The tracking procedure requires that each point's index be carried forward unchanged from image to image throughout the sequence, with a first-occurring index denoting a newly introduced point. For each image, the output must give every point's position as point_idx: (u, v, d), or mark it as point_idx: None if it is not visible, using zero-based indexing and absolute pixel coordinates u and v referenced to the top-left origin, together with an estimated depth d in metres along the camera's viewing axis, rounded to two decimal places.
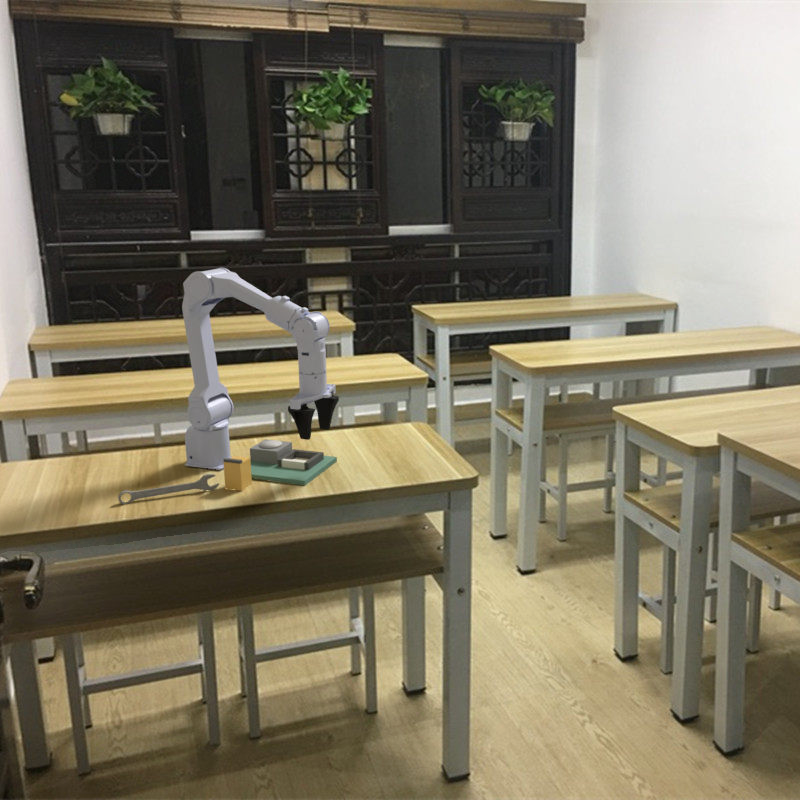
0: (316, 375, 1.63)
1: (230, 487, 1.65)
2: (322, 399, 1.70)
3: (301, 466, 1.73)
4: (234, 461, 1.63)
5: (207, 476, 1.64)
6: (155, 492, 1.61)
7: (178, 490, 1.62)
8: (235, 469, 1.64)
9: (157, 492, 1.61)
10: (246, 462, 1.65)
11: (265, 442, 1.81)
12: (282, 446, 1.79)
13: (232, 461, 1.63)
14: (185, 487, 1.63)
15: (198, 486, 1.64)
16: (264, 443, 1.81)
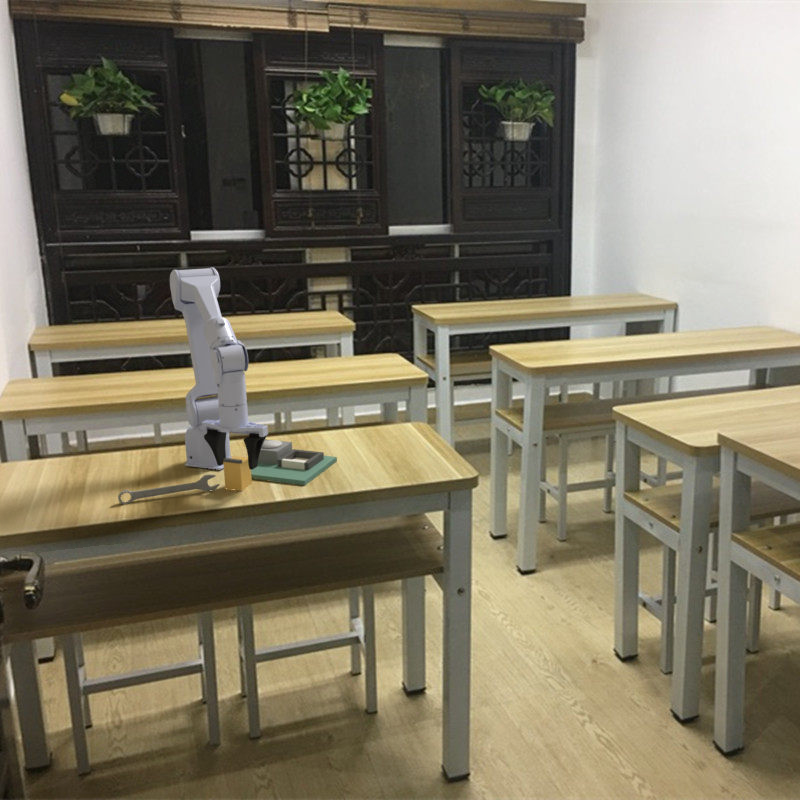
0: (219, 406, 1.61)
1: (230, 487, 1.65)
2: None
3: (301, 466, 1.73)
4: (234, 461, 1.63)
5: (207, 476, 1.64)
6: (155, 492, 1.61)
7: (178, 490, 1.62)
8: (235, 469, 1.64)
9: (157, 492, 1.61)
10: (246, 462, 1.65)
11: (265, 442, 1.81)
12: (282, 446, 1.79)
13: (232, 461, 1.63)
14: (185, 487, 1.62)
15: (198, 487, 1.64)
16: (264, 443, 1.81)
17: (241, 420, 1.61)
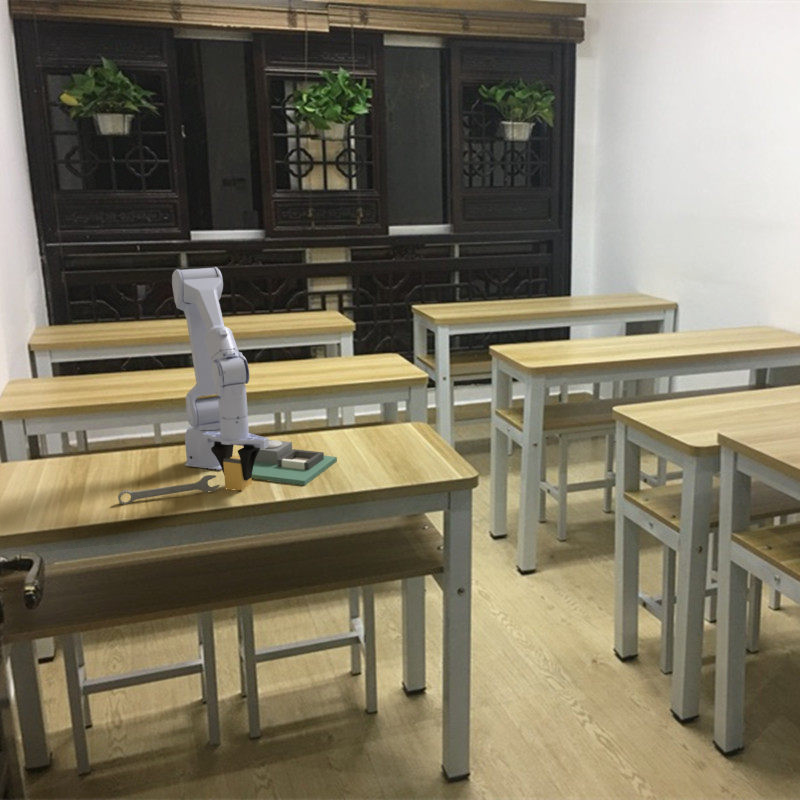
0: (220, 418, 1.61)
1: (230, 487, 1.65)
2: None
3: (301, 466, 1.73)
4: (234, 461, 1.63)
5: (207, 477, 1.63)
6: (155, 493, 1.60)
7: (178, 491, 1.62)
8: (235, 469, 1.63)
9: (157, 492, 1.61)
10: None
11: None
12: (282, 446, 1.79)
13: (232, 461, 1.63)
14: (185, 487, 1.62)
15: (198, 487, 1.63)
16: None
17: (242, 432, 1.61)
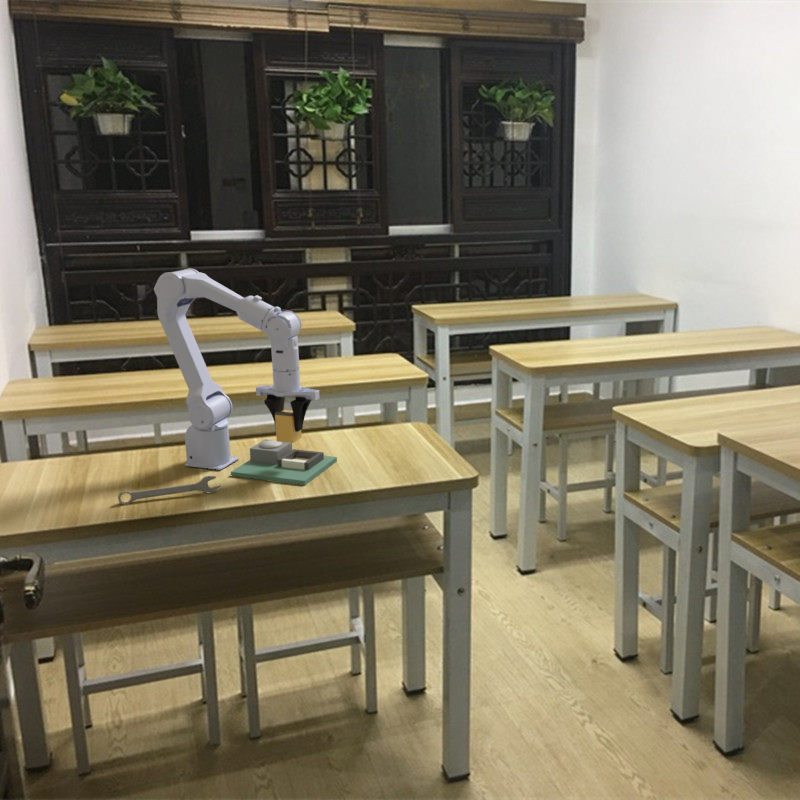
0: (273, 371, 1.69)
1: (281, 439, 1.72)
2: None
3: (301, 466, 1.73)
4: (285, 414, 1.70)
5: (207, 478, 1.63)
6: (155, 493, 1.60)
7: (178, 491, 1.62)
8: (286, 422, 1.70)
9: (157, 493, 1.60)
10: None
11: (265, 442, 1.81)
12: (282, 446, 1.79)
13: (283, 414, 1.70)
14: (185, 488, 1.62)
15: (199, 488, 1.63)
16: (264, 443, 1.81)
17: (294, 384, 1.69)
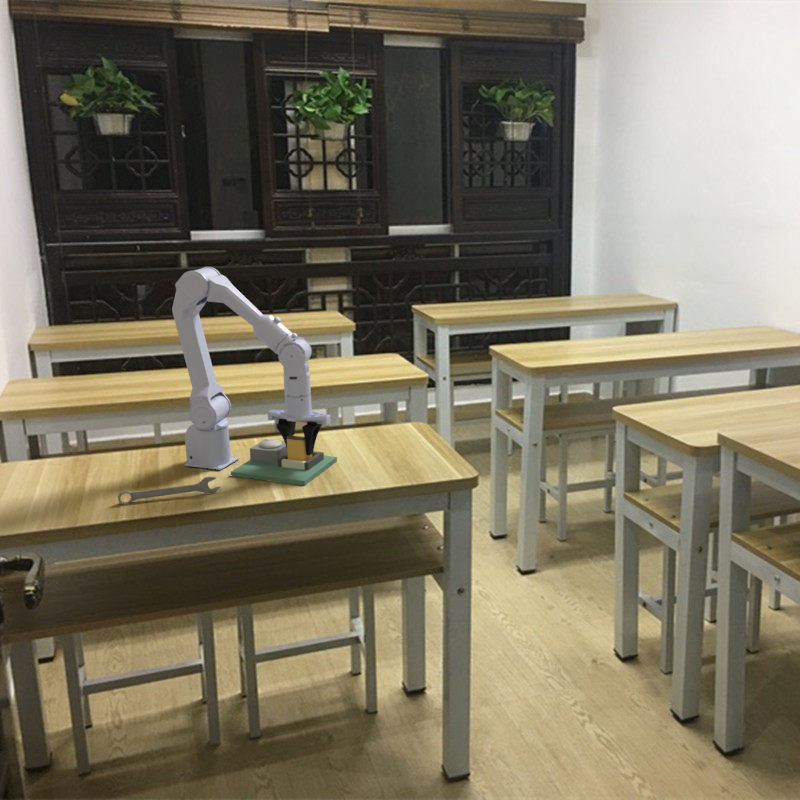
0: (285, 396, 1.72)
1: None
2: None
3: (301, 466, 1.73)
4: (297, 438, 1.74)
5: (208, 479, 1.62)
6: (155, 493, 1.60)
7: (178, 492, 1.61)
8: (298, 446, 1.74)
9: (157, 493, 1.60)
10: None
11: (265, 442, 1.81)
12: (282, 446, 1.79)
13: (295, 438, 1.74)
14: (185, 489, 1.62)
15: (199, 489, 1.62)
16: (264, 443, 1.81)
17: (306, 409, 1.72)
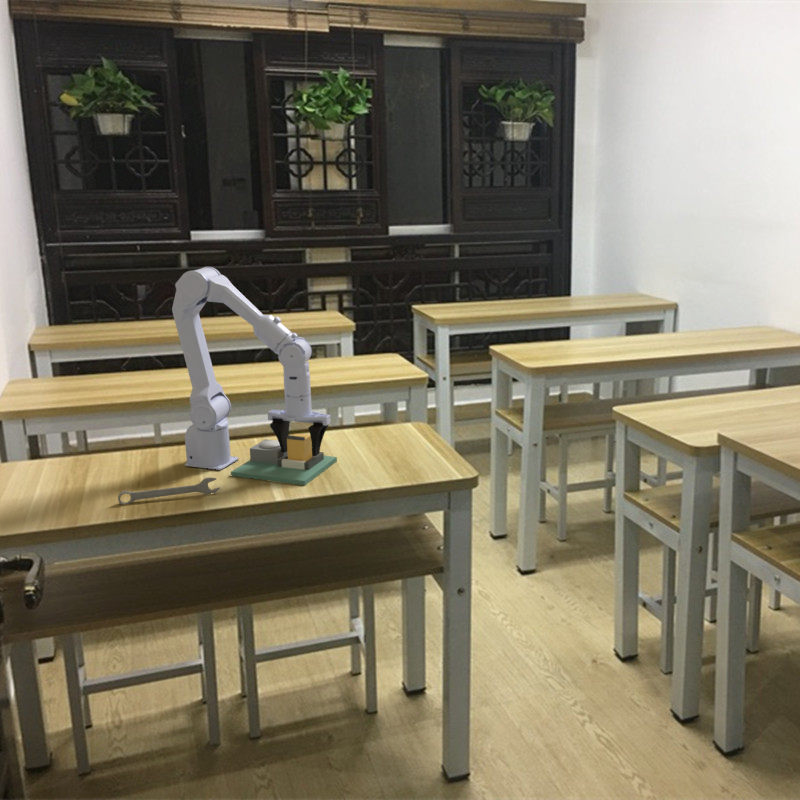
0: (285, 396, 1.72)
1: None
2: None
3: (301, 466, 1.73)
4: (297, 438, 1.74)
5: (208, 479, 1.62)
6: (155, 494, 1.60)
7: (178, 492, 1.61)
8: (298, 446, 1.74)
9: (157, 494, 1.60)
10: (308, 439, 1.76)
11: (265, 442, 1.81)
12: None
13: (295, 438, 1.74)
14: (185, 489, 1.61)
15: (198, 489, 1.62)
16: (264, 443, 1.81)
17: (306, 409, 1.72)
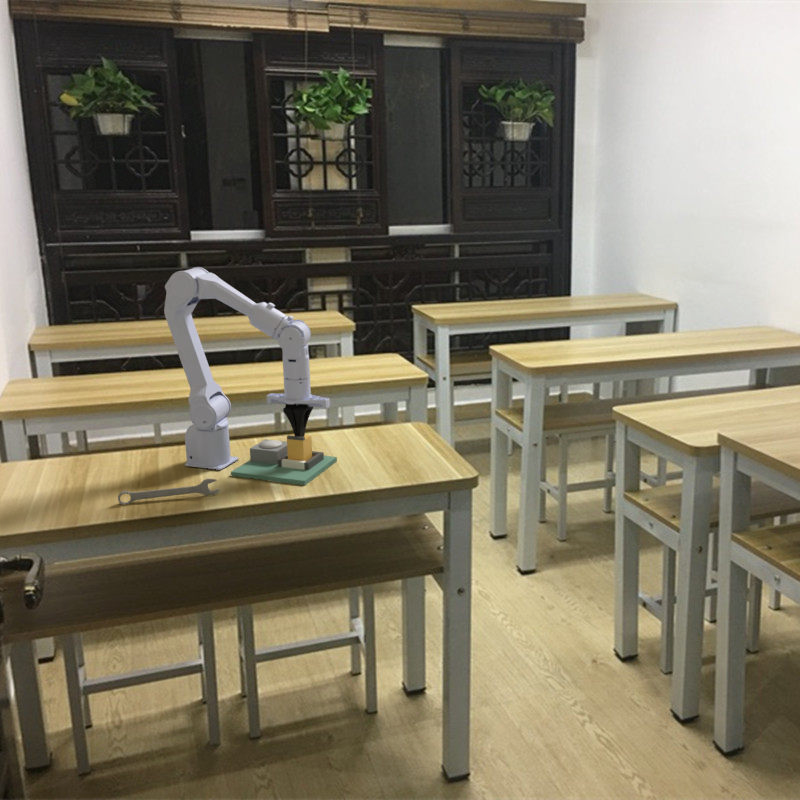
0: (284, 379, 1.71)
1: None
2: None
3: (301, 466, 1.73)
4: (297, 438, 1.74)
5: (207, 481, 1.61)
6: (155, 494, 1.60)
7: (178, 493, 1.61)
8: (298, 446, 1.74)
9: (157, 494, 1.60)
10: (308, 439, 1.76)
11: (265, 442, 1.81)
12: (282, 446, 1.79)
13: (295, 438, 1.74)
14: (185, 490, 1.61)
15: (198, 491, 1.62)
16: (264, 443, 1.81)
17: (305, 393, 1.71)
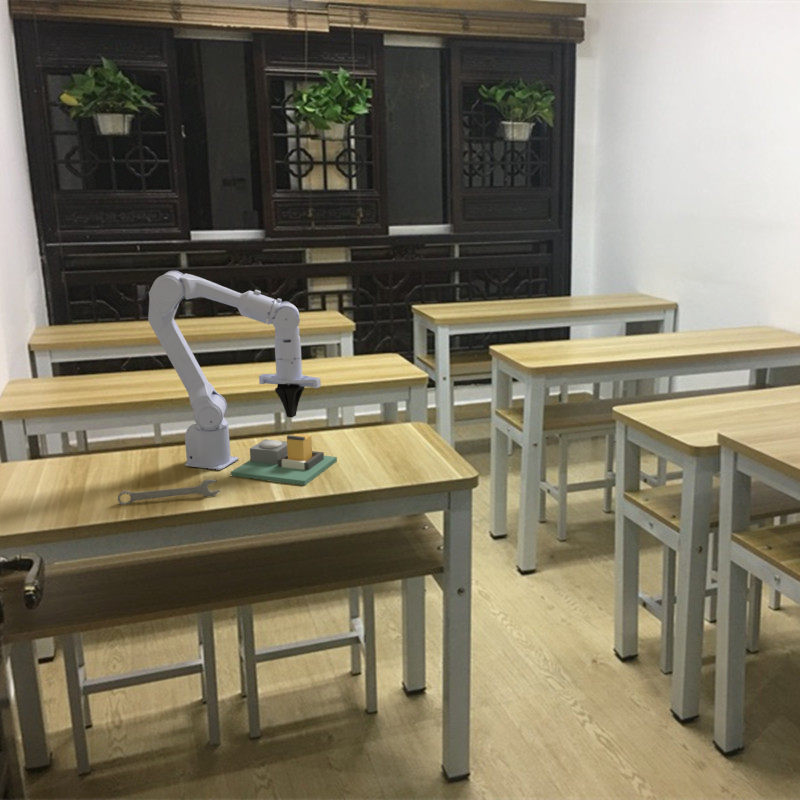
0: (276, 360, 1.75)
1: None
2: None
3: (301, 466, 1.73)
4: (297, 438, 1.74)
5: (207, 481, 1.61)
6: (154, 495, 1.59)
7: (178, 494, 1.60)
8: (298, 446, 1.74)
9: (156, 495, 1.59)
10: (308, 439, 1.76)
11: (265, 442, 1.81)
12: (282, 446, 1.79)
13: (295, 438, 1.74)
14: (185, 491, 1.60)
15: (198, 491, 1.61)
16: (264, 443, 1.81)
17: (296, 372, 1.75)
